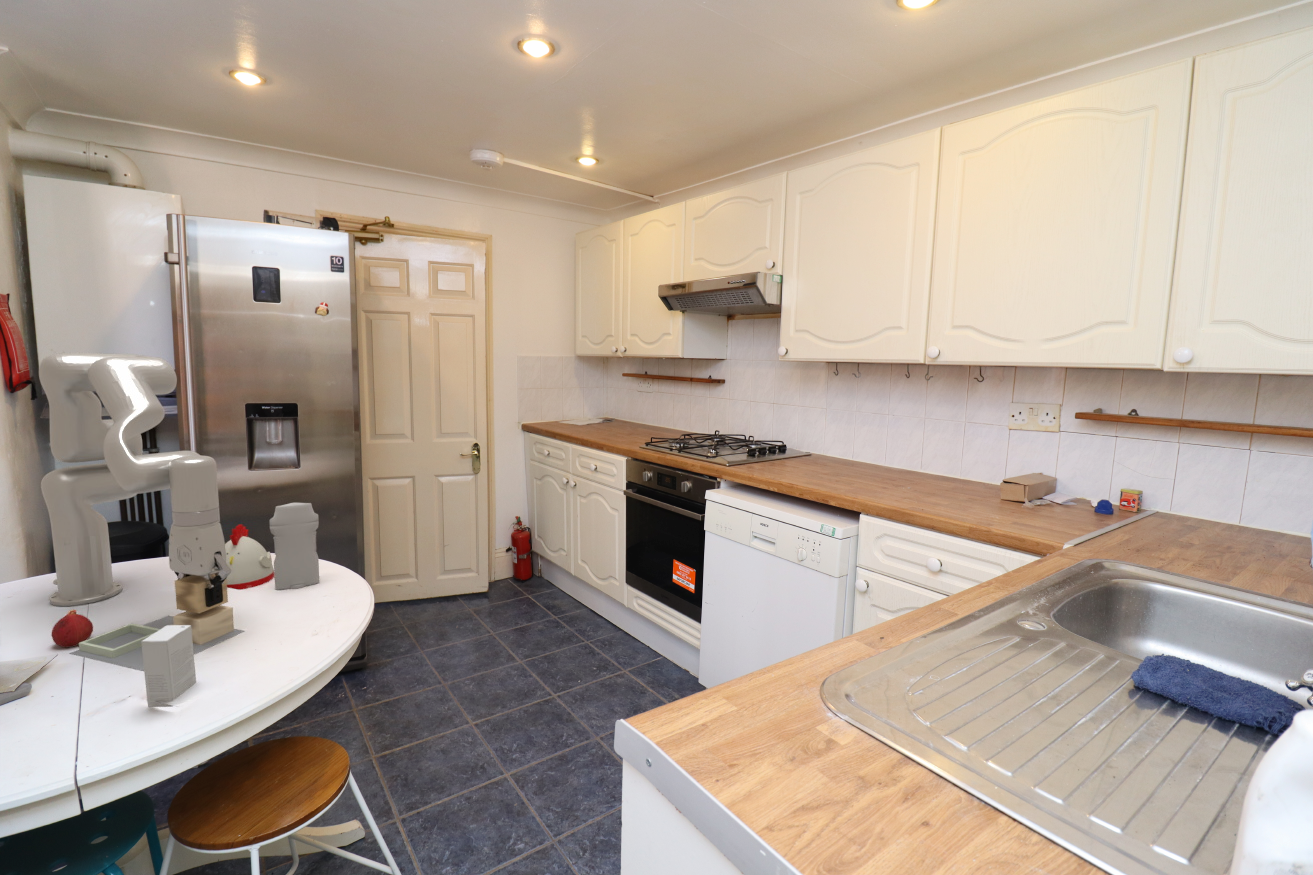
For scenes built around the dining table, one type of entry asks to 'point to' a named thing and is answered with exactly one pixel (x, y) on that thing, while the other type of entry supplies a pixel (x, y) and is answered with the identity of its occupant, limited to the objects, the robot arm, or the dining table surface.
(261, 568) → the kitchen timer
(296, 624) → the dining table surface
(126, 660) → the board
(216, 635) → the brown rectangular block
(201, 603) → the cube
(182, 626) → the skincare box
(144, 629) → the socket
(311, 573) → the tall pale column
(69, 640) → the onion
